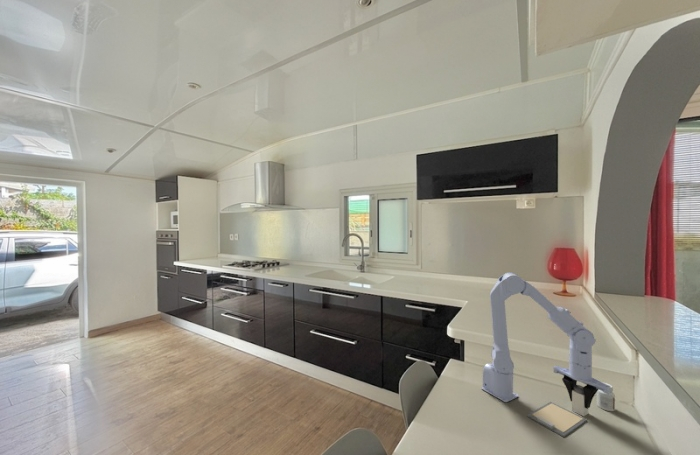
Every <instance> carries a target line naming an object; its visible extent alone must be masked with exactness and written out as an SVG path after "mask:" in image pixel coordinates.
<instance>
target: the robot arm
mask: <svg viewBox="0 0 700 455" xmlns="http://www.w3.org/2000/svg"><path fill="white" fill-rule="evenodd" d="M517 294H521V295H523V296H526V297H529V298H531V299H532V300H533V301H535V302H536V303H537V304H538V305H540V307H541V308H543V309H544V310H545V311H546V312H547V316H548V317H547V318H548V319H549V320H550V321H552V323H553V324H555V325H556V327H558V328H559V329H560V330H561V331H562V332H563V333H565V334H566V335H567V336H568V337H569V346H568V350H569V353H568V357H569V358H568V368H564V367H561V366H559V365H554V366H553V373H555V374H559V375H562V376H563V377H562V378H561V380H562V382H563V384H564V386H565V388H566V390H567V392H568V396H569V400H570V402H572V390H573V386H574V385H578V384H577V382H579V383H582V384H584V386H583V390H584V396H585V402H584V405H585V408H587V409H588V410H589V408H591V403H592V401H593V398H594V397H595V395H597V391H598V390H601V391H604V393H607V394H609V393H610V392H611V386H612V385H611V386H609V385H606V384H604V383H605V382H604V383H602V382H603V381H600V380H599V379H596V378H593V372H592V371H593V370H592V369H593V350H592V347H593V346H594V345H595V344H596V342H597V341H596V340H597V339H596V338H595V336H594V334H593V332H591V331H590V330H589V329H588V328H586V327H585V326H584V323H583V322H582V321H580V320H577V319H576V318H575V317H574V316H573V315H572V314H571V312H572V311H570V310H569V309H567V308H564V307H562V306H555V304H553V302H551V301H550V300H549V299H548V298H547V297H546V296H545V295H544V294H543V293H541V292H540V291H539V289H537V288H536V287H535V286H534V285H532V284H531V283H529V282H527V281H526V280H524V279H523V278H522V277H520V276H518V274H517V273H514V272H506V273H504V274H502V275H501V276H500V277H498V279H497V280H496V282H495V284H494V286H493V287H492V289H491V290H490V292H489V298H490V299H489V300H490V301H489V302H490V310H491V311H490V313H491V326H492V327H491V328H492V336H493V337H492V339H493V340H492V342H493V343H492V345H493V346H492V349H491V352H490V355H491V357H492V363H490V362H488V363H486V364H485V365H484V366H483V369H482V387H481V390H483V391H485V392H487V393H488V394H490V395H491V396H493V397H495V398H496V399H499V400H501V401H502V402H504V403H508V402H511V401H513V400H514V399H516V398H518V397H519V394H517V393H516V392H514V368H515V365H514V362H513V360H512V357H511V353H510V348H509V340H508V339H509V338H508V327H507V326H508V325H507V315H506V314H507V313H506V304H505V303H506V302H505V301H507V300H508V298H510V297H511V296H514V295H517Z"/></svg>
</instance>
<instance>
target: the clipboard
mask: <svg viewBox="0 0 700 455" xmlns="http://www.w3.org/2000/svg"><path fill="white" fill-rule="evenodd" d="M526 417H528V418H529V419H531V420H532V421H535V422H536V423H538V424H539V425H541V426H543V427H544V428H546V429H548V430H550V431H552V432H554V433H555V434H557V435H559V436H561V437H563V438H565V437H567V435H569V434H570V433H572V432H574V431H575V430H576V429H578V428H579V427H580V426H582V425H583V424H585V423H586V422H587V421H588V419H587V418H584V417H583V416H581V415H578V414H577V413H575V412H573V411H570V410H568V409H566V408H564V407H562V406H560V405H558V404H556V403H554V402H552V401H550V402H548V403H546V404H543V405H542V406H540V407H539V408H537V409H535V410H534V411H531V412H530V413H527V414H526Z"/></svg>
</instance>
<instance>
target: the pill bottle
mask: <svg viewBox="0 0 700 455" xmlns="http://www.w3.org/2000/svg"><path fill="white" fill-rule="evenodd" d="M601 382H602V383H604V384H606V385H609V386H611V392H610V393H609V394H607V393H604V391H601V390H598V391H597V392H596V406H598V408H600V409H602V410H604V411H608V412H614V411H615V409H616V408H615V406H616V404H615V402H616V399H615V397H616V396H615V393H614V392H613V391H614V388H613V385H611V384H610V383H607V382H603V381H601Z"/></svg>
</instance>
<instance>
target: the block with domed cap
mask: <svg viewBox="0 0 700 455" xmlns="http://www.w3.org/2000/svg"><path fill="white" fill-rule="evenodd" d="M583 387H584V386H583V385H580V384H576V385H574V386H573V390H572V401H571V412H573V413H575V414H577V415H578V414H579V416H581V417H585V416H587V415H588V414H589V408H588V409H587V408H585V405H584V402H585V396H584V390H583Z"/></svg>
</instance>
